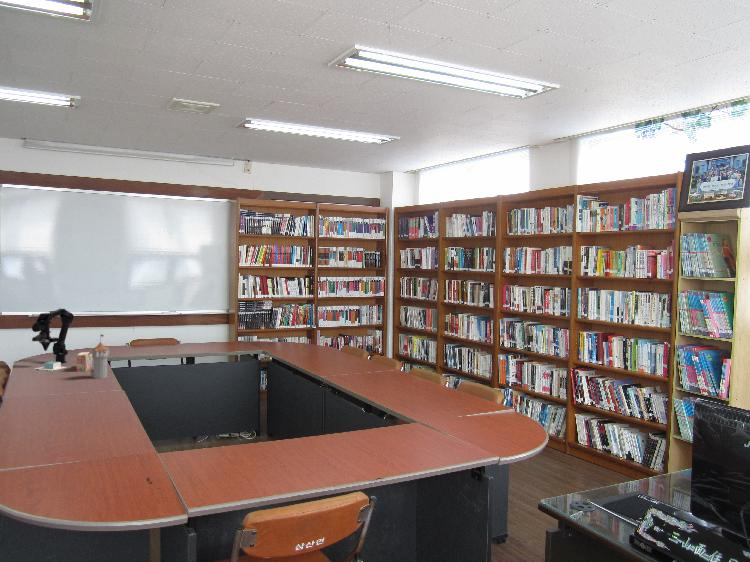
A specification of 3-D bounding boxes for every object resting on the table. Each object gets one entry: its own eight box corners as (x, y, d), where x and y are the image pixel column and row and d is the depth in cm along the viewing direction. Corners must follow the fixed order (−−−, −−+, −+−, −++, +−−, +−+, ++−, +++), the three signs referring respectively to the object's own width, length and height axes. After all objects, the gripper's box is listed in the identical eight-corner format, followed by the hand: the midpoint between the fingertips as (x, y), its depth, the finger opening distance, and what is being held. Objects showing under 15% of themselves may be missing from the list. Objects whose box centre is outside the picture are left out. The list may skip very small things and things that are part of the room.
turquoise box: (51, 361, 441) (60, 362, 439) (51, 366, 441) (60, 367, 439) (44, 363, 434) (53, 363, 432) (44, 368, 434) (53, 369, 432)
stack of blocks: (83, 366, 448) (83, 350, 448) (92, 366, 449) (92, 350, 449) (76, 371, 427) (76, 354, 427) (85, 371, 429) (85, 354, 428)
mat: (48, 366, 446) (48, 365, 446) (66, 367, 442) (66, 366, 442) (33, 369, 432) (33, 368, 432) (51, 370, 428) (51, 370, 428)
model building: (100, 379, 402) (100, 335, 401) (84, 378, 404) (84, 334, 403) (113, 375, 415) (113, 333, 414) (98, 374, 418) (98, 332, 417)
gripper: (26, 331, 437) (26, 352, 438) (47, 332, 433) (48, 353, 434) (37, 329, 448) (38, 349, 449) (59, 330, 444) (59, 350, 445)
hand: (45, 350), depth 444 cm, fingers closed
